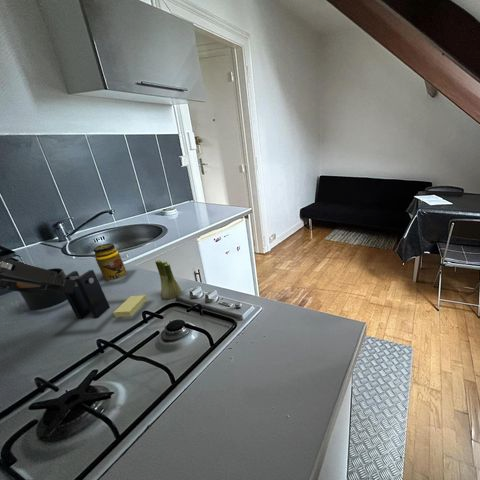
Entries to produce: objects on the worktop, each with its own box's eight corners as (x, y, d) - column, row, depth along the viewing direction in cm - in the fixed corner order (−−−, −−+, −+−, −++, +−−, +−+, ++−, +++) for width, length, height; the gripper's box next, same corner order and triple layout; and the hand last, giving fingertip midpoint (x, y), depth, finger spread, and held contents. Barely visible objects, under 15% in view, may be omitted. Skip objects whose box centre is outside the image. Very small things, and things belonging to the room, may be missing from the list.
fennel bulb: (183, 301, 72) (171, 262, 68) (163, 307, 70) (150, 268, 65) (181, 291, 77) (170, 255, 72) (163, 297, 75) (149, 260, 70)
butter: (133, 320, 66) (129, 311, 64) (117, 322, 66) (112, 312, 64) (148, 303, 72) (145, 294, 71) (134, 304, 72) (130, 295, 71)
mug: (78, 287, 83) (65, 261, 79) (74, 304, 74) (60, 276, 71) (37, 298, 78) (21, 272, 74) (28, 319, 69) (10, 290, 65)
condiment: (123, 283, 84) (109, 249, 79) (93, 287, 82) (77, 253, 77) (133, 272, 90) (121, 240, 86) (105, 276, 89) (91, 244, 84)
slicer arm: (43, 288, 53) (44, 276, 53) (16, 290, 53) (17, 278, 53) (95, 285, 65) (95, 275, 65) (72, 286, 65) (73, 277, 65)
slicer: (96, 332, 62) (74, 287, 57) (58, 335, 62) (32, 290, 57) (128, 302, 73) (112, 262, 68) (96, 304, 73) (77, 264, 68)
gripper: (-19, 226, 38) (104, 269, 60) (-147, 235, 38) (22, 274, 60) (-42, 276, 36) (95, 302, 57) (-181, 285, 35) (10, 308, 57)
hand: (58, 288), depth 58 cm, fingers closed on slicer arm, 5 cm apart
